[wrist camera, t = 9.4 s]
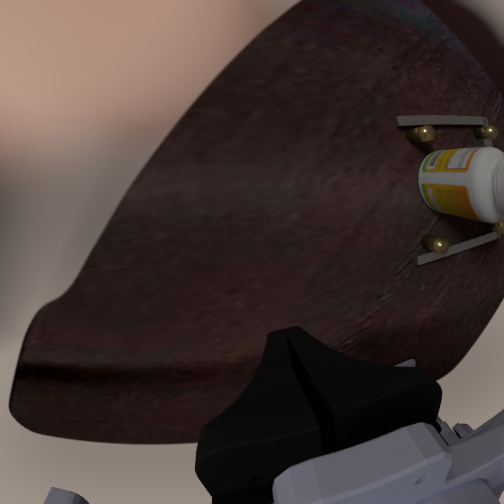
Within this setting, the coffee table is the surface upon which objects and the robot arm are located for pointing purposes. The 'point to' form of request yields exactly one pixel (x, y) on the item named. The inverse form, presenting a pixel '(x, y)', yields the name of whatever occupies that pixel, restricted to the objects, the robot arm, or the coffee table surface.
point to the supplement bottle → (465, 183)
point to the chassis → (483, 136)
